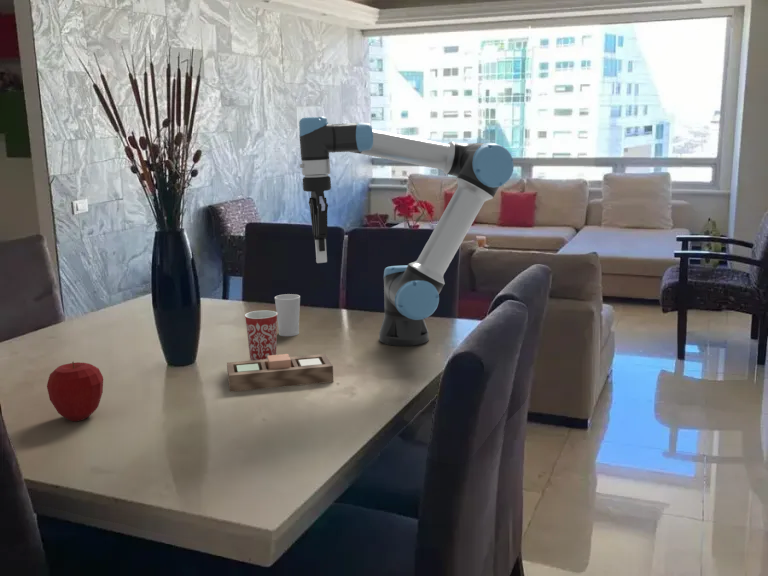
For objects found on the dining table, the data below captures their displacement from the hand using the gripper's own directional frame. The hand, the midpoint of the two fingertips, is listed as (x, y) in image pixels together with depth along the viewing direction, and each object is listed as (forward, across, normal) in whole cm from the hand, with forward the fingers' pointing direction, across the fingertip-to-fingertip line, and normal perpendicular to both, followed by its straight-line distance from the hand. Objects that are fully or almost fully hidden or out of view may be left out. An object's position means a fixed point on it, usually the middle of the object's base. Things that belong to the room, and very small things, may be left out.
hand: (321, 262), depth 205 cm
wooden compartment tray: (+27, +14, -16) cm, 35 cm away
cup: (+28, -30, -6) cm, 41 cm away
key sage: (+26, +14, -24) cm, 38 cm away
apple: (+26, +25, -64) cm, 73 cm away
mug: (+27, -6, -17) cm, 33 cm away
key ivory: (+27, +15, -8) cm, 32 cm away
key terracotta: (+25, +14, -16) cm, 33 cm away
